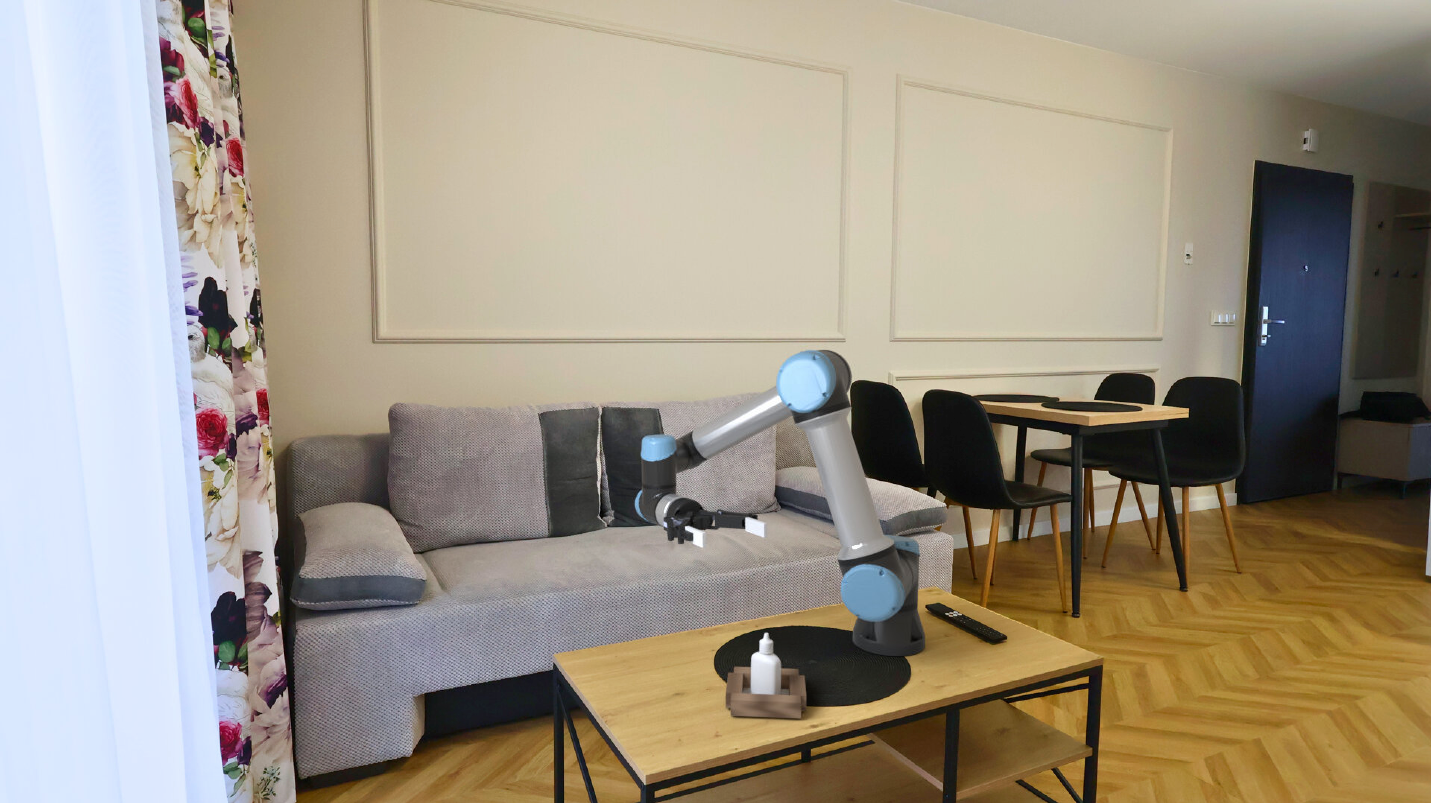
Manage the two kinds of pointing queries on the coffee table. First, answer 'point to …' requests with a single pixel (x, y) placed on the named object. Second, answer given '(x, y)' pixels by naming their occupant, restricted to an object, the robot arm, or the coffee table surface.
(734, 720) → the coffee table surface
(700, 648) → the coffee table surface
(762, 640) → the eye dropper bottle
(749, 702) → the socket block
